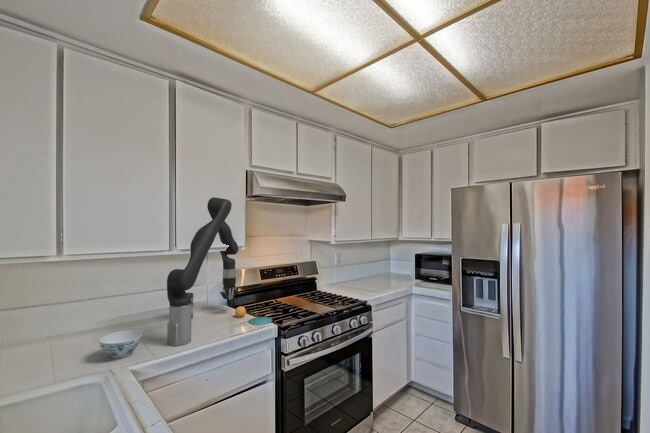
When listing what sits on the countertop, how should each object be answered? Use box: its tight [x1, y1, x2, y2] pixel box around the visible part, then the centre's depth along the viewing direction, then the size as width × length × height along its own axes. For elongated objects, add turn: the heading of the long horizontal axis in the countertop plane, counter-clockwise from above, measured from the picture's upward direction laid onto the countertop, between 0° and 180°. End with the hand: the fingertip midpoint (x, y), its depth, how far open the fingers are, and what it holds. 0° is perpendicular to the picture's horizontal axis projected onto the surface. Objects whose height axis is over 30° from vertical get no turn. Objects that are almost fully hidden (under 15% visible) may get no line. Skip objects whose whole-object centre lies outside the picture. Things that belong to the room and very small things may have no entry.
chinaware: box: [98, 329, 143, 359], centre depth 129 cm, size 15×15×8 cm
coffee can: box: [186, 292, 195, 320], centre depth 176 cm, size 10×10×14 cm
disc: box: [248, 316, 273, 326], centre depth 173 cm, size 13×13×1 cm
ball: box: [234, 306, 247, 318], centre depth 180 cm, size 6×6×6 cm
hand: (229, 305), depth 185 cm, fingers closed
